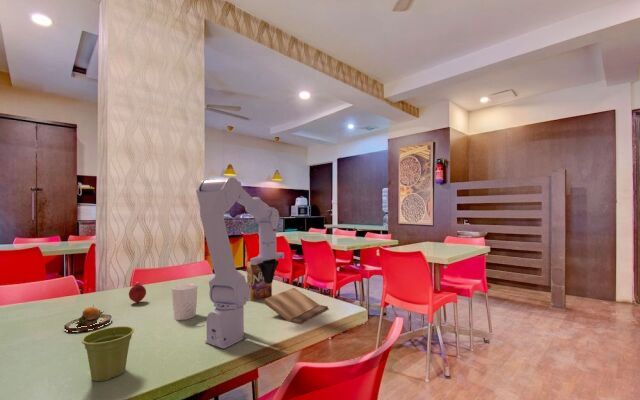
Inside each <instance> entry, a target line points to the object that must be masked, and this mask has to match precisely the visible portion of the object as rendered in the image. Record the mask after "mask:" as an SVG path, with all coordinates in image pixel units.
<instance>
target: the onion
mask: <svg viewBox="0 0 640 400" xmlns="http://www.w3.org/2000/svg"><path fill="white" fill-rule="evenodd" d="M128 291H129V292H128V297H129V299H130V300H131V301H133V302H134V303H136V302H138V303H140V302H141V301H142V300H143V299H144V298H145V297H146V294H147V290H146V287H145V286H144V285H142V284H140V282H138V281H136V282H135V285H133V286H132V287H131V288H130V289H129V290H128Z"/></svg>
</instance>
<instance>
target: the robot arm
mask: <svg viewBox="0 0 640 400" xmlns="http://www.w3.org/2000/svg"><path fill="white" fill-rule="evenodd" d="M195 192H196V196H197V201H198V204H199V215H200V220H201V224H202V227H203V231H204V236H205V240H206V243H207V248H208V252H209V255H210V260H211V263H212V268H213V271H214V275H213V276H212V277H211V278H210V279H209V281H208V284H209V292H208V293H209V294H208V295H209V299H210V301H211V302H212V303H213V307H215V309H214V310H212V311H210V312H209V313H208V315H207V317H206V339H205V340H204V342H205V343H206V344H209V345H211V346H214V347H217V348H221V349H227V348H229V347H230V346H232V345H235V344H236V343H239V342H241V341H242V340H244V339H246V338H247V337H245V336H244V335H245V325H244V323H245V321H244V318H245V317H244V316H245V315H244V313H245V312H244V307H245V305H246V304H247V302H249V301H248V299H249V296H250V288H249V285H248V284H247V280H246V277H245V275H244V274H243V273H241V272H240V271H238V270H237V269H236V264H235V261H234V260H235V259H234V256H233V251H232V247H231V243H230V239H229V235H228V230H227V225H226V221H225V213H226V212H227V213H228V212H229V211H230V209H231V208H232V207H233V206H234V205H235V203H237V204H240V205H241V206H243V207H244V209H245V212H246V213H247V214H249V215H250V216H252V217H253V218H254V220H255V223H257V224H258V231H259V232H258V237H259V239H258V244H259V254H258V255H257V256H255V257H252V258H250V261H251V265H257V264H258V266H259V268H260V269H261V272H262V274H263V277H264V281H265V283H272V284H273V280H274V277H275V272H276V270H277V268H278V265H279V263H280V262H279V259H285V253H284V252H278V251H277V229H278V226H279V225H278V224H279V223H278V222H279V221H280V213H279V210H278V209H276V207H274V206H273V207H270V206H269V205H268V204H267V203H266V202H264V201H263V200H261V199H262V198H261V197H259V196H251V195H250V194H249V193H248V192H247V191H246V190H245V189H244V188H243V186H242V183H241V181H239V180H238V179H237V178H236V177H232V176H231V177H227V178H226V177H225V178H224V177H223V178H212V179H209V178H207V179H206V178H205V179H202V180H201V182H200V183H199V185H198V186H197V189H196V191H195Z"/></svg>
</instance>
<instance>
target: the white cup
mask: <svg viewBox="0 0 640 400" xmlns="http://www.w3.org/2000/svg"><path fill="white" fill-rule="evenodd" d="M171 297H172V309H173V310H172V311H173V318H174V320H176V321H185V320H190V319H192V318H194V317H196V315H197V307H198V306H197V305H198V284H196V283H184V284H183V283H182V284H178V285H175V286H173V287H171Z"/></svg>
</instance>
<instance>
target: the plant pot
mask: <svg viewBox="0 0 640 400" xmlns="http://www.w3.org/2000/svg"><path fill="white" fill-rule="evenodd" d="M134 333H135V328H134V327H132V326H127V325H125V326H124V325H122V326H121V325H120V326H113V327H112V326H111V327H105V328H103V329H102V328H101V329H97V330H96V331H92V332H91V333H88V334H86V335H85V336H83V337H82V339H81V344H82V345H83V344H84V349H85V350H86V355H87V360H88V361H87V362H88V366H89V370H90V371H89V372H90V378H91V379H92V381H95V382H102V381H104V380H105V381H107V380H109V379H111V378H117V377H119V376H120V375H122V374H123V373H125V372H126V366H127V362H128V361H127V360H128V359H127V358H128V353H129V348H130V341H131V339H132V336H133V334H134Z"/></svg>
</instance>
